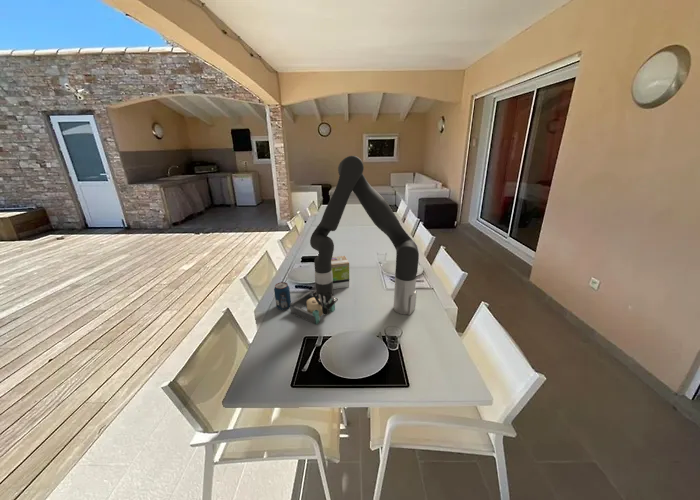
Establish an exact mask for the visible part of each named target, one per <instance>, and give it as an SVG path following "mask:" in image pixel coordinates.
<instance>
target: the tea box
mask: <svg viewBox="0 0 700 500" xmlns="http://www.w3.org/2000/svg"><path fill="white" fill-rule="evenodd" d="M331 266H332V274H333V290H336V289H343V288H345V289H346V288H350V262H349V260H348V259H347V257H346V255H339V256H332V260H331Z"/></svg>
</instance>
